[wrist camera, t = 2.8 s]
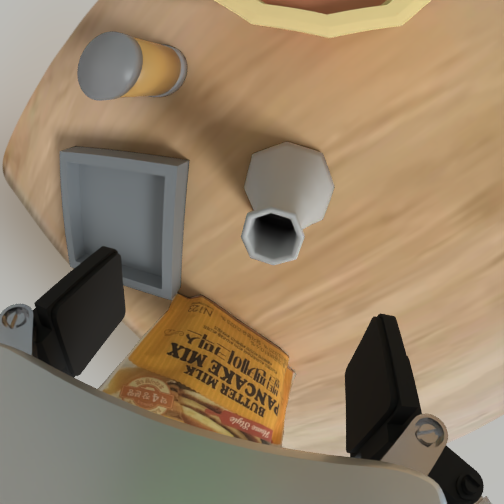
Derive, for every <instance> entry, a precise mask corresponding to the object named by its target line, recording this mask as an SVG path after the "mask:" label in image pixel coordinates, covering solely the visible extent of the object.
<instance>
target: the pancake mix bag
mask: <svg viewBox="0 0 504 504" xmlns="http://www.w3.org/2000/svg"><path fill="white" fill-rule="evenodd" d="M288 360H289V356H288V355H287V354H286V353H284V352H283V351H282V350H281V349H280V348H279V347H277V346H276V345H274V344H273V343H271V342H270V341H268V340H267V339H266V338H264V337H263V336H261V335H260V334H258V333H257V332H255V331H254V330H252V329H251V328H249V327H248V326H246V325H245V324H243V323H242V322H240V321H239V320H237V319H236V318H234V317H233V316H232V315H231V314H229V313H228V312H227V311H225V310H224V309H223V308H221V307H220V306H218V305H217V304H215V303H214V302H212V301H211V300H209V299H207V298H206V297H204V296H202V295H198V296H195V297H191V298H187V297H185V296H183V295H181V294H178V293H176V294H175V296H174V297H173V299H172V301H171V304H170V307H169V310H168V311H167V312H166V313H165V314H164V315H163V316H162V317H161V318H160V319H159V320H158V321H157V322H156V323H155V324H154V325H153V326H152V327H151V328H150V329H149V330H148V331H147V332H146V333H145V334H144V335H143V337H142V338H141V339H140V340H139V342H138V343H137V344H136V345H135V347H134V348H133V349H132V350H131V352H130V353H129V354H128V355H127V357H126V358H125V359H124V360H123V361H122V362H121V363H120V364H119V366H117V368H116V369H115V370H114V371H113V372H112V373H111V375H110V376H109V377H108V378H107V380H106V381H105V382H104V383H103V384H102V385H101V386H100V387H99V388H98V390H100V391H102V392H105V393H107V394H109V395H111V396H114V397H116V398H118V399H121V400H123V401H125V402H128V403H130V404H133V405H135V406H138V407H140V408H143V409H146V410H148V411H151V412H153V413H156V414H159V415H162V416H165V417H167V418H170V419H173V420H176V421H179V422H182V423H185V424H189V425H192V426H195V427H198V428H202V429H205V430H209V431H212V432H216V433H219V434H223V435H227V436H231V437H235V438H239V439H243V440H247V441H252V442H256V443H261V444H266V445H271V446H276V447H281V446H282V440H283V434H284V419H285V412H286V407H287V403H288V399H289V395H290V390H291V387H292V383H293V380H294V378H295V376H296V373H295V372H294V371H292V370H291V369H290V368H289V367H288Z"/></svg>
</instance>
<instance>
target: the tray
mask: <svg viewBox="0 0 504 504" xmlns="http://www.w3.org/2000/svg"><path fill="white" fill-rule="evenodd" d="M188 169H189V160H184V159H178V158H171V157H164V156H157V155H150V154H142V153H135V152H127V151H118V150H109V149H99V148H89V147H78V146H75V147H72V148H68V149H65V150H62V151H60V178H61V194H62V207H63V217H64V226H65V234H66V242H67V249H68V256H69V262H70V267H73V268H76V267H77V266H78V265H79V264H80V263H82V262H83V261H84V260H85V259H87V258H88V257H89V256H90V255H92V254H93V253H94V252H95V251H97V250H98V249H99V248H100V247H102V246H106V247H109V248H113V249H116V250H117V251H118V254H120V255H121V261H122V277H123V285H124V286H127V287H130V288H133V289H137V290H140V291H143V292H146V293H149V294H152V295H155V296H159V297H162V298H165V299H169V300H172V299H173V297H174V296H175V294H176V293H177V292H178V290H179V289H180V287H181V267H182V247H183V230H184V216H185V202H186V190H187V179H188Z"/></svg>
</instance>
